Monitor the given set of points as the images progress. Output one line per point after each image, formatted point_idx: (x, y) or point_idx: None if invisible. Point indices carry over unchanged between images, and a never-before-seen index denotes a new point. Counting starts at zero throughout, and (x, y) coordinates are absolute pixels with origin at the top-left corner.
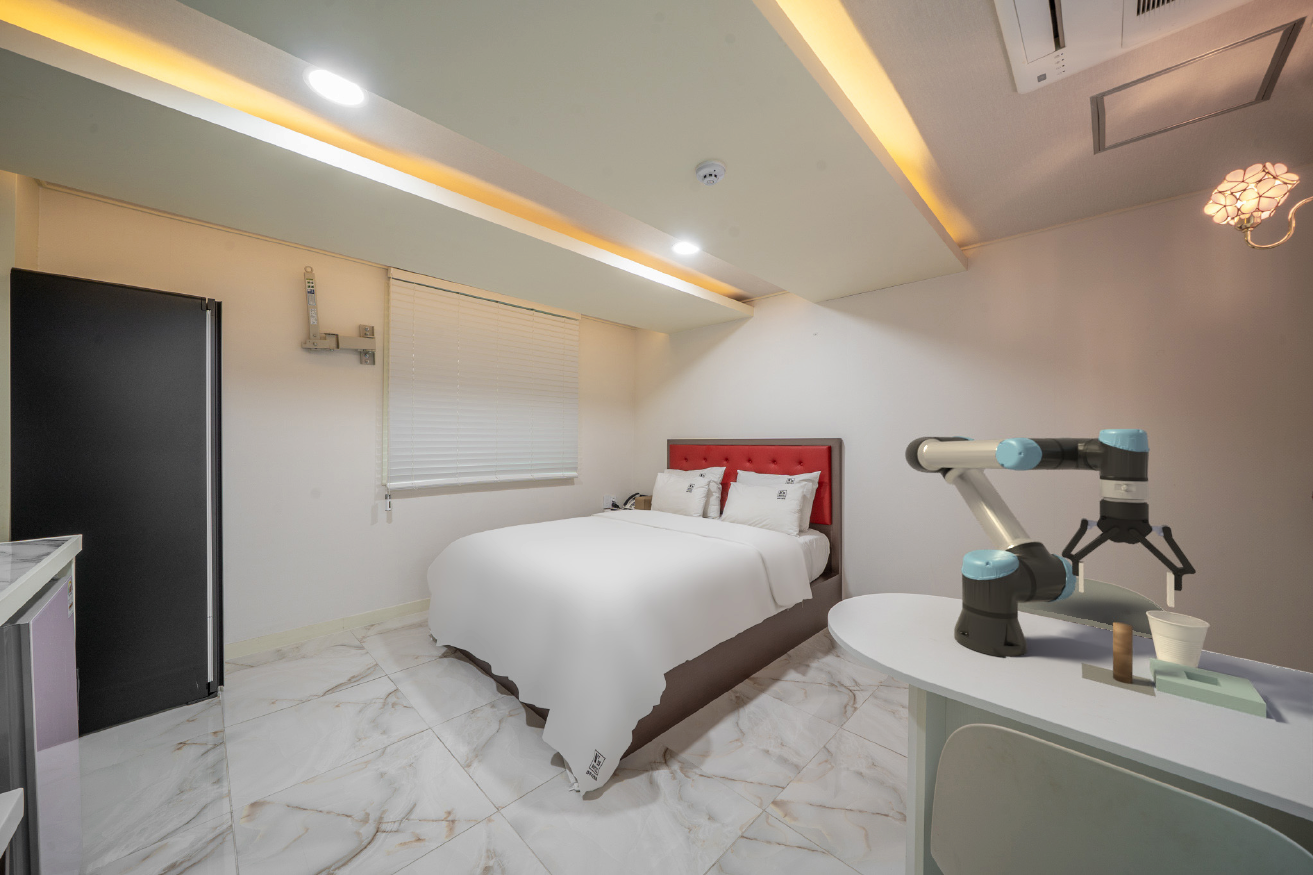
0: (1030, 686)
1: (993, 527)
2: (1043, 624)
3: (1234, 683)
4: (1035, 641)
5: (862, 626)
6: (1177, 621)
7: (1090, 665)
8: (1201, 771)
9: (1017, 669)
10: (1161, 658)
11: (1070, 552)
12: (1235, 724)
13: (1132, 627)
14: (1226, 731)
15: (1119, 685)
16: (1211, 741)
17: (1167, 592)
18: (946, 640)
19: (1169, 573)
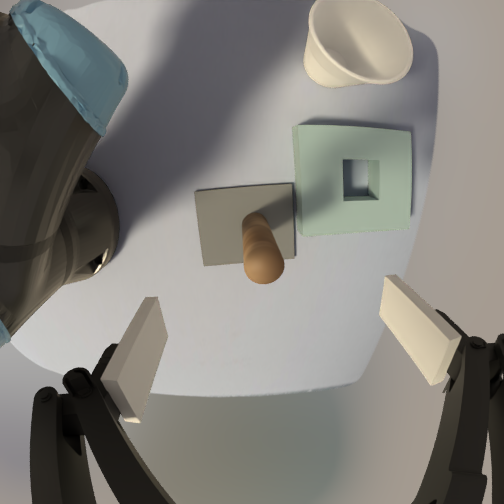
0: None
1: None
2: (125, 22)
3: (394, 168)
4: (117, 131)
5: None
6: (355, 5)
7: (207, 194)
8: (307, 391)
9: (131, 297)
10: (311, 75)
11: (83, 449)
12: (364, 267)
13: (283, 269)
14: (350, 297)
15: None
16: (330, 334)
17: (402, 311)
18: None
19: (446, 359)
